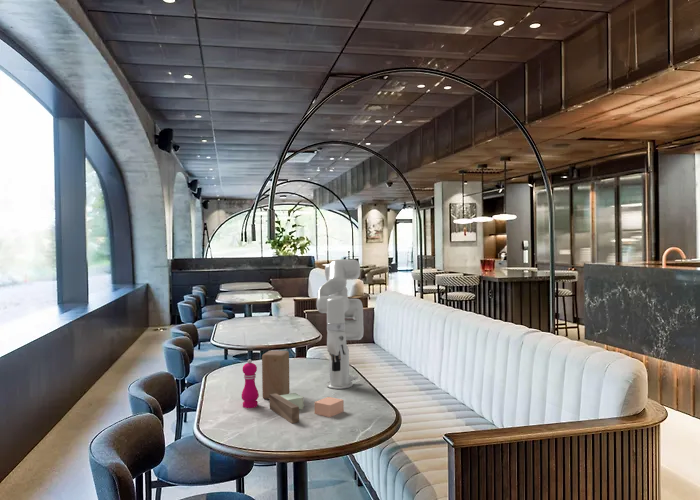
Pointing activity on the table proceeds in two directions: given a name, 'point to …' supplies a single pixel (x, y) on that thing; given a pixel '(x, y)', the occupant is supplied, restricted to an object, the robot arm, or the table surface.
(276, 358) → the wooden block
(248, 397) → the pepper mill
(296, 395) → the sage block
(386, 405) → the table surface
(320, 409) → the terracotta block
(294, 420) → the walnut board
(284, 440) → the table surface
